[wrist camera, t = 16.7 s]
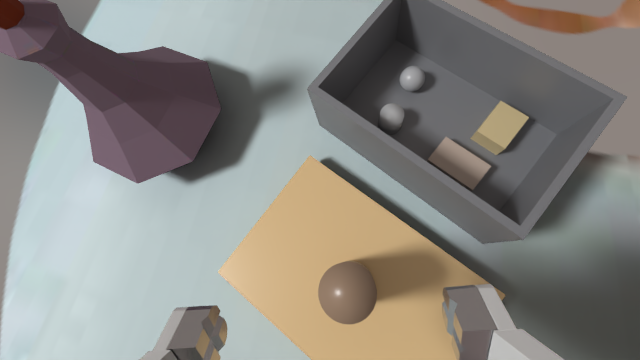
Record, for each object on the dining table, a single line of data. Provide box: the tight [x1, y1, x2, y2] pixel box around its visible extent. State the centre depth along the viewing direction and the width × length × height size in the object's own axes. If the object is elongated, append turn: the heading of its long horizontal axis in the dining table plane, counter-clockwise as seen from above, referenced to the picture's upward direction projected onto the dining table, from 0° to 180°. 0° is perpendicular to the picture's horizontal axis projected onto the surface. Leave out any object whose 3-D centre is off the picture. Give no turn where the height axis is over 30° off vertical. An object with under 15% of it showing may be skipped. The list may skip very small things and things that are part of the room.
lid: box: [218, 156, 506, 360], centre depth 26 cm, size 15×22×11 cm
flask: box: [0, 0, 221, 183], centre depth 28 cm, size 16×16×20 cm
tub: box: [307, 0, 627, 244], centre depth 29 cm, size 14×21×8 cm, turn 50°
